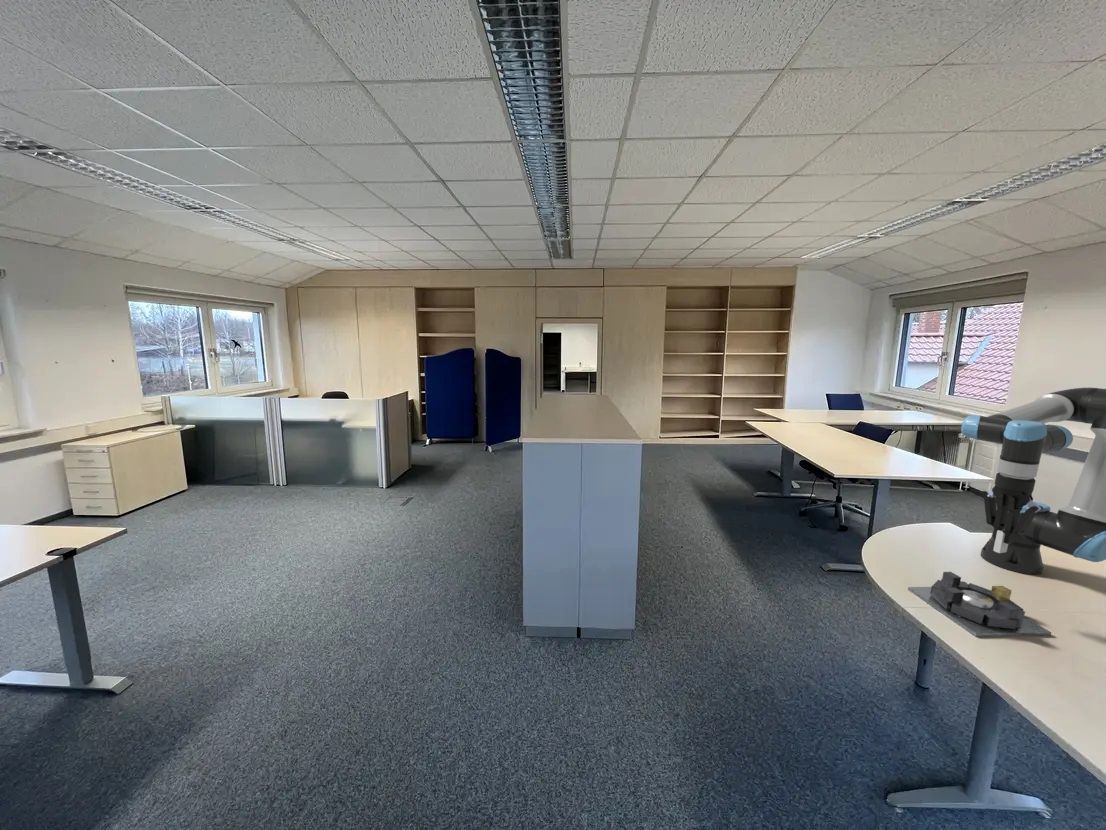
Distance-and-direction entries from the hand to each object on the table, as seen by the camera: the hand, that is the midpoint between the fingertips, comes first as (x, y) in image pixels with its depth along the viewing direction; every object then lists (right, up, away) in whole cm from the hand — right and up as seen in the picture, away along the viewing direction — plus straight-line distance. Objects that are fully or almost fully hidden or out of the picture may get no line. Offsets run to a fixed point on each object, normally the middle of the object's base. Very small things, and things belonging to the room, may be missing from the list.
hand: (999, 551), depth 122 cm
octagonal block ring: (-8, -16, 0) cm, 18 cm away
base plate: (-8, -18, 0) cm, 19 cm away
